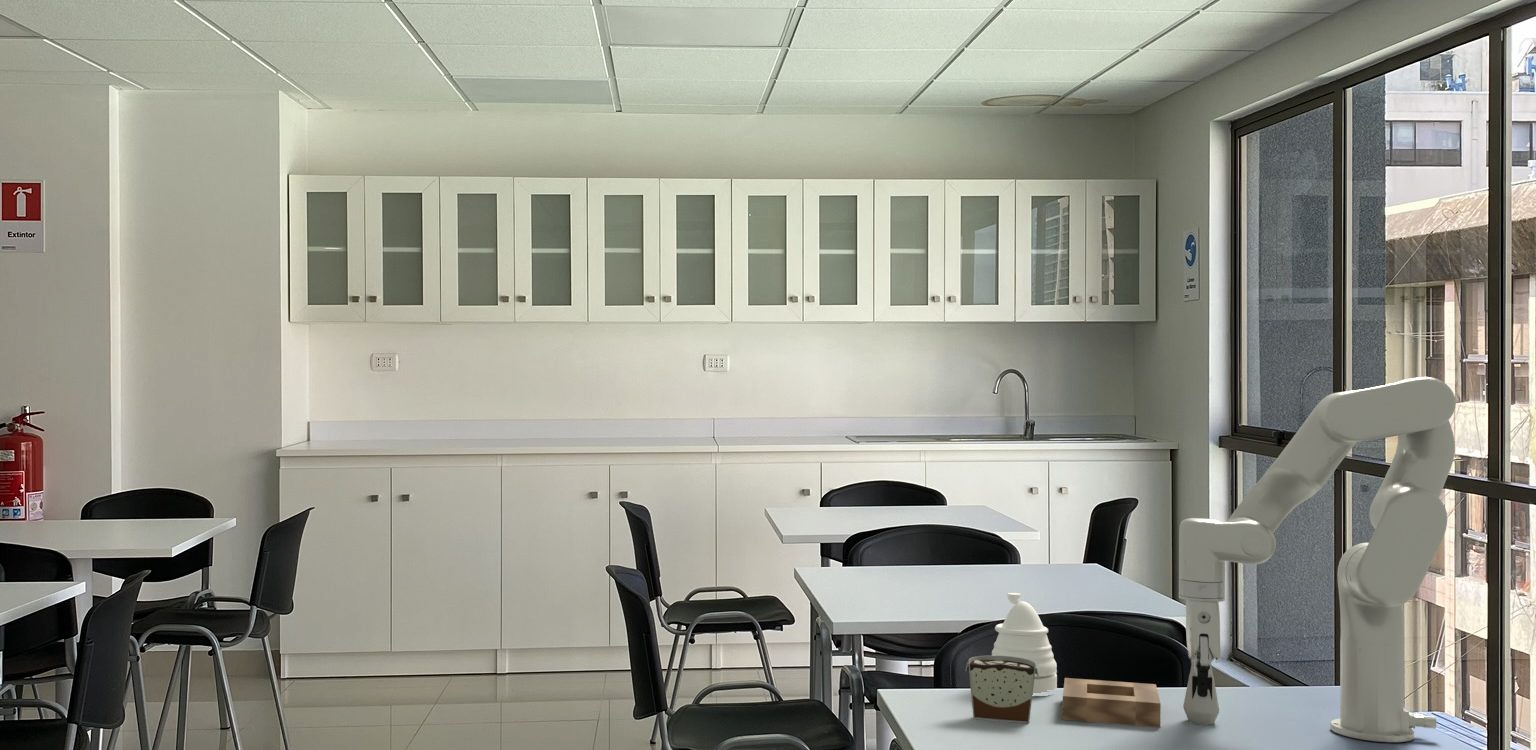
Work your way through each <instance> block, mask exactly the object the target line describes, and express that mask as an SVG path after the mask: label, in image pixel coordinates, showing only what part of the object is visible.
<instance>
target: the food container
mask: <svg viewBox="0 0 1536 750" xmlns="http://www.w3.org/2000/svg"><path fill="white" fill-rule="evenodd" d="M967 671H968V673H969V685H970V695H971V697H970V698H971V706H972V707H971V709H972V718H973V720H985V721H995V722H996V721H997V722H1008V723H1021V724H1030V719H1031V709H1032V703H1033V702H1032V701H1033V697H1032V695H1033V687H1034V678H1035V674H1037V675H1038V670H1037V667H1036V663H1035V662H1033V661H1031V660H1028V659H1024V658H1018V657H1011V656H992V655H978V656H977V655H976V656H973V657H972V656H971V657H970V658H969V659H968V661H967V662H966V666H965V672H967ZM1038 677H1039V675H1038Z"/></svg>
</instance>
